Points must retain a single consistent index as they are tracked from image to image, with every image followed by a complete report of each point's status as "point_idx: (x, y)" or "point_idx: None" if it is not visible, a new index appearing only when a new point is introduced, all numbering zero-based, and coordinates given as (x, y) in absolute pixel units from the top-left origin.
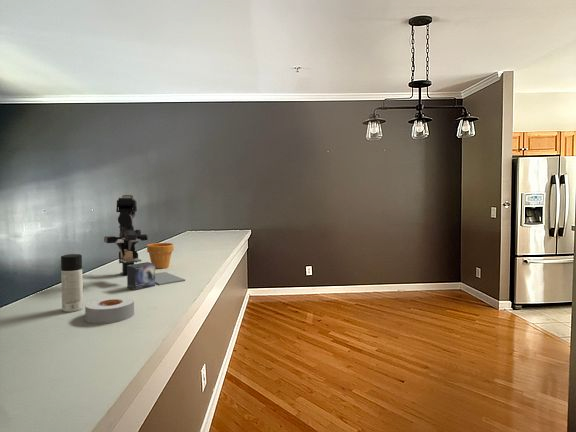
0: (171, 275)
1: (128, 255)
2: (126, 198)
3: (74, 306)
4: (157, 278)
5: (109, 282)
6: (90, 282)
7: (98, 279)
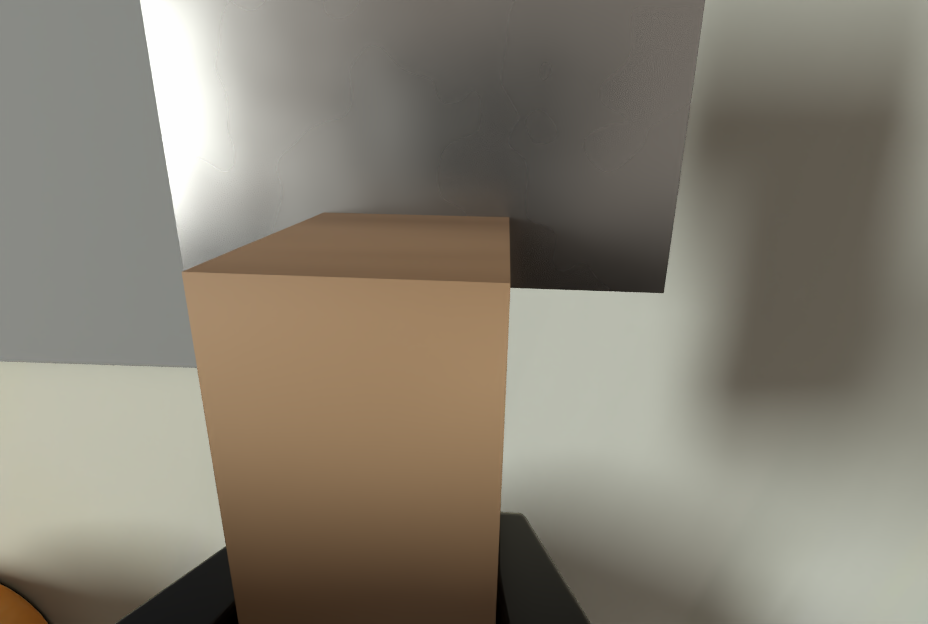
0: None
1: (446, 240)
2: None
3: None
4: (102, 43)
5: (684, 322)
6: (845, 463)
7: (706, 538)
